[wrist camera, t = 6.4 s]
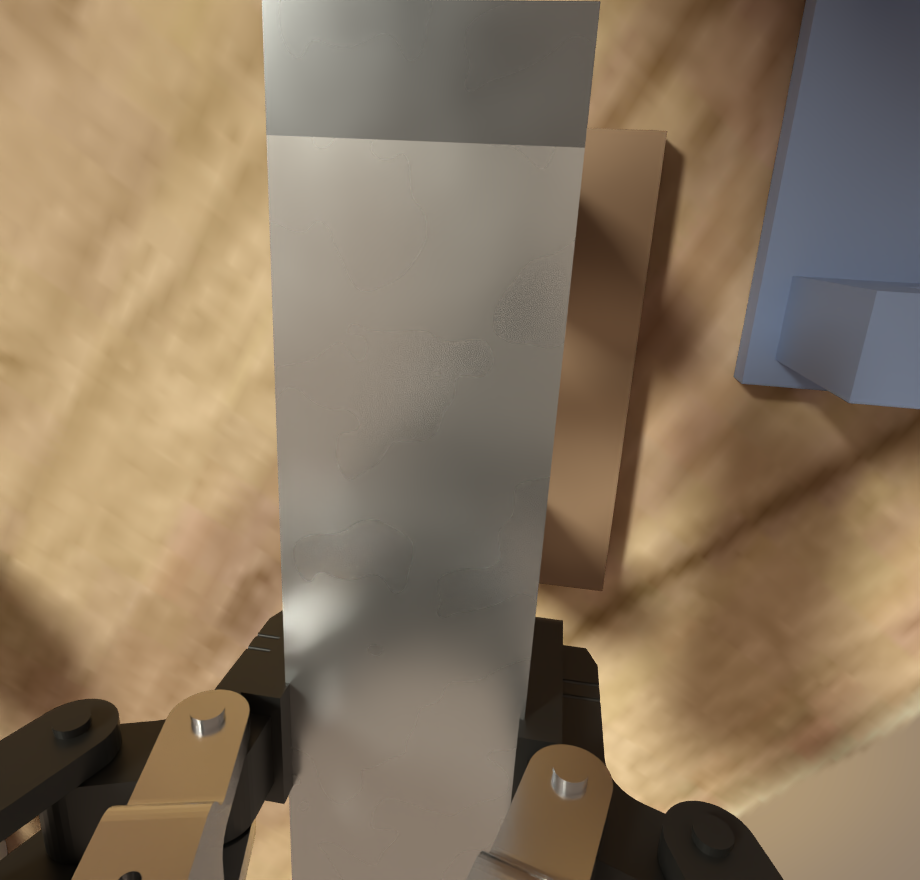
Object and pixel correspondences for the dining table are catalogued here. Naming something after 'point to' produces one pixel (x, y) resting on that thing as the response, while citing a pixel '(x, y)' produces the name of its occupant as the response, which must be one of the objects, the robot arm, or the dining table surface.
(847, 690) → the dining table surface
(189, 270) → the dining table surface
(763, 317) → the notched cradle
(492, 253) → the steel bar
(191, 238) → the dining table surface
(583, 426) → the stand
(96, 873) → the robot arm
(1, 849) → the coffee mug
